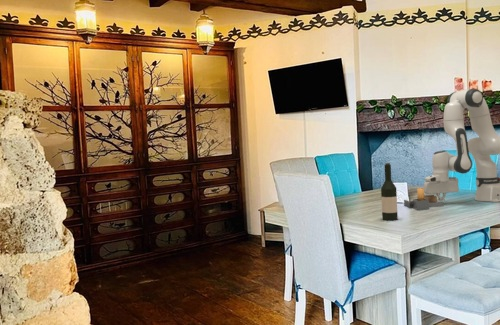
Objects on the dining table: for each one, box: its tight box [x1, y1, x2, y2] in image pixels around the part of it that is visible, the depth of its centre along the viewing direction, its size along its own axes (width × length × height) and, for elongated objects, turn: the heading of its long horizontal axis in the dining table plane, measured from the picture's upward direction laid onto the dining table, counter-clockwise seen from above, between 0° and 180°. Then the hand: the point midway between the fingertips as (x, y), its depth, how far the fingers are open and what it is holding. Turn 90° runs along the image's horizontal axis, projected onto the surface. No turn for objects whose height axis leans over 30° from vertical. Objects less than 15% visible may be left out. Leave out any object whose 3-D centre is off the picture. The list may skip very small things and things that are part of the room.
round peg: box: [416, 187, 425, 201], centre depth 256 cm, size 4×4×9 cm
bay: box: [403, 199, 445, 209], centre depth 266 cm, size 20×10×4 cm, turn 89°
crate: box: [424, 194, 438, 203], centre depth 266 cm, size 6×6×5 cm
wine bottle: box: [380, 162, 399, 222], centre depth 233 cm, size 8×8×30 cm
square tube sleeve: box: [412, 198, 430, 211], centre depth 257 cm, size 7×7×6 cm
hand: (441, 200), depth 265 cm, fingers closed
